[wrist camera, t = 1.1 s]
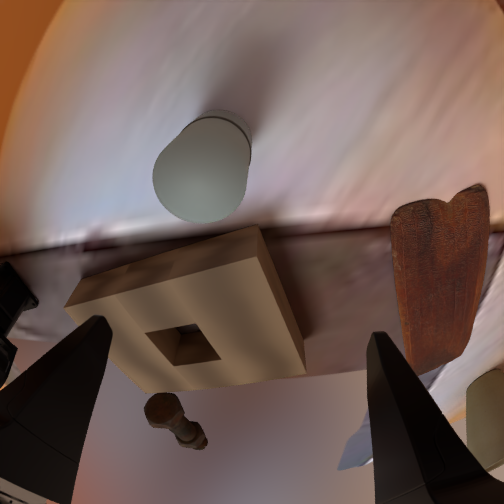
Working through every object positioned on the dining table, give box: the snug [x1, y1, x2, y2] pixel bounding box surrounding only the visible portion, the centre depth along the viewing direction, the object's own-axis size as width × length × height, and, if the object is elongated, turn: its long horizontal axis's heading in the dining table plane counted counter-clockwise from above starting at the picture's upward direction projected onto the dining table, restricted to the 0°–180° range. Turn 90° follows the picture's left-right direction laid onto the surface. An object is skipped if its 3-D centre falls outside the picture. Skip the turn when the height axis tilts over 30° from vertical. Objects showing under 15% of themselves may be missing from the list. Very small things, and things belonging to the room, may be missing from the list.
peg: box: [153, 110, 252, 224], centre depth 16 cm, size 4×4×8 cm
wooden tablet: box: [390, 185, 490, 376], centre depth 27 cm, size 27×10×2 cm, turn 23°
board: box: [64, 224, 307, 393], centre depth 27 cm, size 18×14×4 cm
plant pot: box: [466, 369, 504, 472], centre depth 32 cm, size 15×15×16 cm
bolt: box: [144, 392, 208, 450], centre depth 41 cm, size 6×5×15 cm
